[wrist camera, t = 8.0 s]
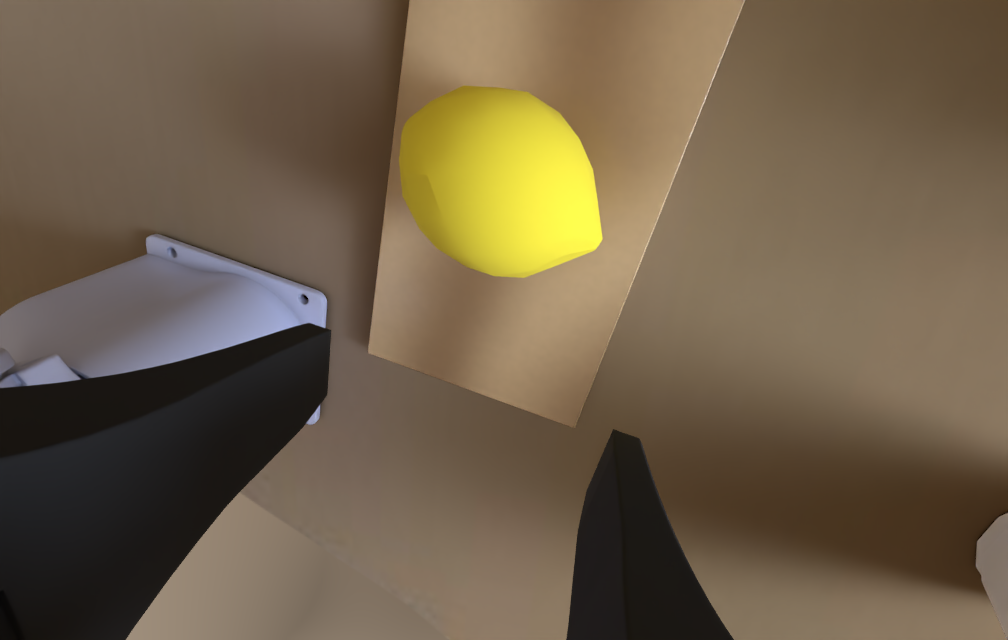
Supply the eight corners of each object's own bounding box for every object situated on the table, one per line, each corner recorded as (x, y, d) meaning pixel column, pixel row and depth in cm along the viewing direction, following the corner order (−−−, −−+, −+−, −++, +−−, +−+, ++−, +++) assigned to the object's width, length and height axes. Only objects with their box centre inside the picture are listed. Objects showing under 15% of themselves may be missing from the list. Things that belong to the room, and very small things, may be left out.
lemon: (408, 182, 19) (329, 220, 15) (470, 39, 17) (398, 30, 12) (564, 281, 19) (535, 350, 15) (651, 155, 17) (649, 192, 12)
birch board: (375, 344, 24) (367, 353, 24) (448, -235, 14) (437, -250, 14) (577, 417, 23) (574, 428, 22) (806, -161, 13) (814, -174, 13)
